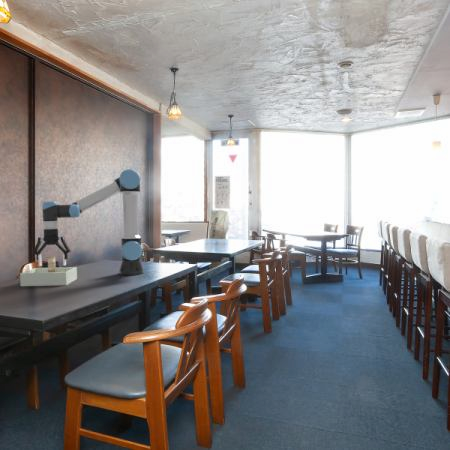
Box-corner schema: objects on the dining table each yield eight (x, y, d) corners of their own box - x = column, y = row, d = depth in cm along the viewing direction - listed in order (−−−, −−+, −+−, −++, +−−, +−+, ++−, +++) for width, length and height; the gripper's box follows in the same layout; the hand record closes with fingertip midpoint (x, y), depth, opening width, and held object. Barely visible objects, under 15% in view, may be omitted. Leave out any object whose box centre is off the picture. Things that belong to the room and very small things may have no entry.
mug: (55, 279, 220) (55, 263, 220) (38, 278, 223) (38, 263, 222) (66, 276, 229) (65, 261, 229) (49, 275, 232) (49, 261, 232)
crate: (77, 278, 219) (76, 267, 219) (66, 285, 201) (66, 272, 201) (35, 279, 217) (34, 268, 217) (20, 286, 200) (20, 273, 199)
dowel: (54, 282, 211) (53, 257, 210) (47, 282, 210) (46, 257, 210) (57, 280, 215) (56, 256, 214) (50, 280, 214) (49, 256, 214)
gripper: (75, 227, 216) (77, 263, 217) (31, 228, 214) (32, 265, 215) (71, 228, 208) (72, 265, 209) (25, 229, 206) (27, 267, 207)
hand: (52, 265), depth 212 cm, fingers open, 13 cm apart
